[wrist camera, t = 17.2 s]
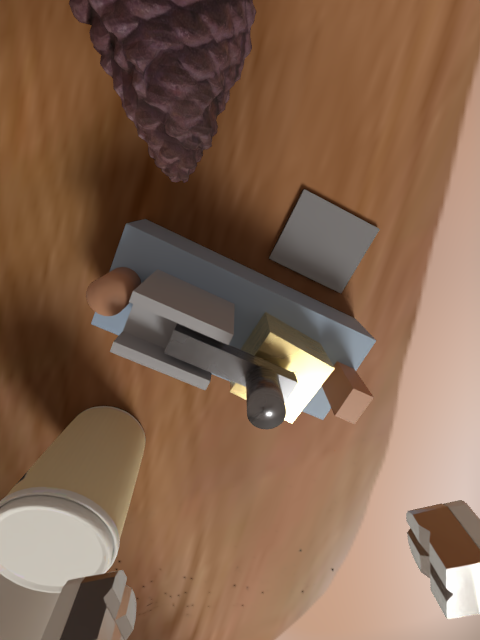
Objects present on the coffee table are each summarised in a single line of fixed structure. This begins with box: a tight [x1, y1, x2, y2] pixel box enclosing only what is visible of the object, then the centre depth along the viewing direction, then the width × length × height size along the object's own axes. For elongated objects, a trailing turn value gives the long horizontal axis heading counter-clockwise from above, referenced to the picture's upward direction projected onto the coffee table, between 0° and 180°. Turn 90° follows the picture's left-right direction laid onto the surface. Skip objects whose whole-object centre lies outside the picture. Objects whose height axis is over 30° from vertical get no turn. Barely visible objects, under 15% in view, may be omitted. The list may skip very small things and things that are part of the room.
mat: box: [269, 189, 379, 293], centre depth 28 cm, size 6×7×1 cm
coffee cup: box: [0, 406, 145, 593], centre depth 29 cm, size 9×9×12 cm
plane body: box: [86, 219, 376, 424], centre depth 25 cm, size 8×20×11 cm, turn 64°
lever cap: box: [230, 312, 335, 423], centre depth 24 cm, size 5×5×4 cm
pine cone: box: [69, 0, 256, 183], centre depth 19 cm, size 18×10×10 cm, turn 176°
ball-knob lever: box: [164, 323, 298, 429], centre depth 19 cm, size 2×8×4 cm, turn 64°
